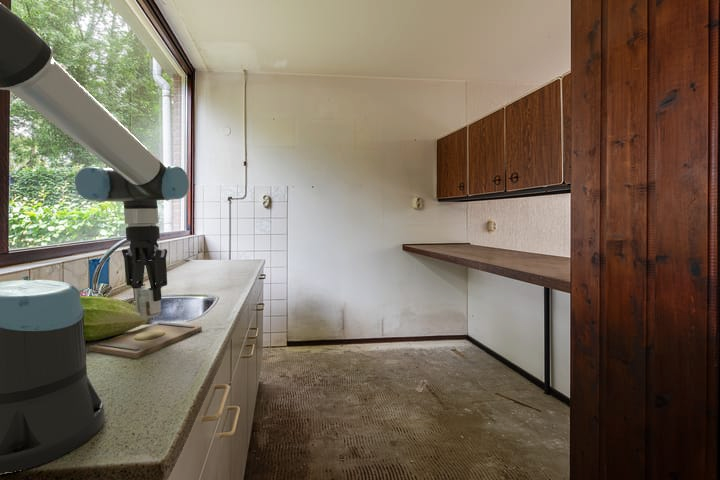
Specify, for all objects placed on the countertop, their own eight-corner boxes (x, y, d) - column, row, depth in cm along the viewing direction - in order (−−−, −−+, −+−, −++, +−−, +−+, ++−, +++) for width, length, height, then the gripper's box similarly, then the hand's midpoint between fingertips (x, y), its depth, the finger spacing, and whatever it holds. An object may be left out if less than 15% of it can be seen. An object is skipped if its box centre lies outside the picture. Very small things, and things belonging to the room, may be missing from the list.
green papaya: (149, 318, 93) (151, 284, 102) (41, 323, 81) (54, 284, 90) (146, 349, 98) (148, 314, 108) (45, 359, 87) (56, 319, 96)
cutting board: (136, 358, 80) (136, 351, 80) (89, 350, 85) (89, 344, 85) (201, 330, 98) (201, 325, 98) (160, 325, 104) (159, 320, 104)
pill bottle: (150, 319, 89) (148, 290, 88) (136, 318, 90) (133, 290, 89) (163, 314, 93) (161, 286, 93) (149, 313, 94) (147, 286, 94)
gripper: (179, 224, 90) (185, 310, 92) (131, 225, 96) (137, 306, 98) (154, 225, 83) (161, 318, 85) (104, 226, 89) (111, 313, 91)
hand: (148, 311), depth 91 cm, fingers closed on pill bottle, 4 cm apart
